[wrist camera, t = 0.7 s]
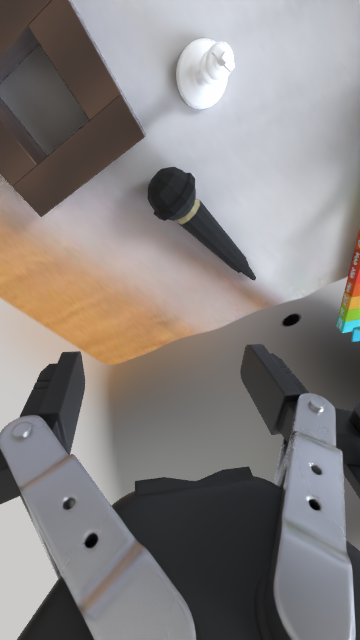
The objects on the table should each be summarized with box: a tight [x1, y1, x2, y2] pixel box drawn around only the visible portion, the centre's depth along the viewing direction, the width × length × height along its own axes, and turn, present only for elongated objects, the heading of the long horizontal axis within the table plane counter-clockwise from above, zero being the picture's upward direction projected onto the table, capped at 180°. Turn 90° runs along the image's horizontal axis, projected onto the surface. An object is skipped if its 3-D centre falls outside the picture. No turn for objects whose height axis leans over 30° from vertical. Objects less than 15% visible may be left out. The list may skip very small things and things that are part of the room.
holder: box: [0, 0, 145, 217], centre depth 23 cm, size 14×14×4 cm
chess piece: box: [176, 38, 235, 109], centre depth 21 cm, size 5×5×10 cm
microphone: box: [148, 167, 256, 280], centre depth 33 cm, size 6×6×20 cm
